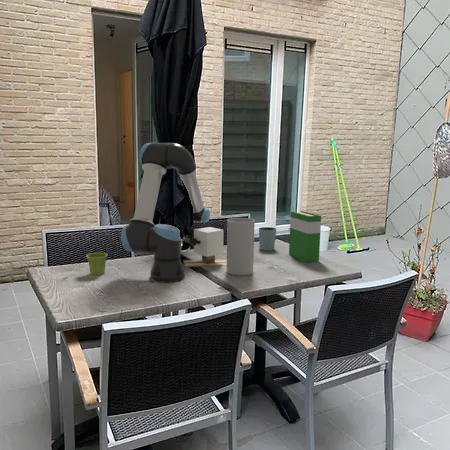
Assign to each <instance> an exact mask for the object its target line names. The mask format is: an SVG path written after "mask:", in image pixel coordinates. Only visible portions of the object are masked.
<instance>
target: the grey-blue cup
mask: <svg viewBox="0 0 450 450" xmlns="http://www.w3.org/2000/svg"><path fill="white" fill-rule="evenodd" d="M276 235H277V228H276V227H271V226H264V227H263V226H262V227H258V239H259V240H258V241H259V246H258V247H259V250H261V251H274V250H275V244H276Z"/></svg>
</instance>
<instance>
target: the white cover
mask: <svg viewBox="0 0 450 450" xmlns="http://www.w3.org/2000/svg"><path fill="white" fill-rule="evenodd" d="M193 229H194V238H196V239H201V240H205V241H206V246H202V245H198V244H196V245H194V244H193V253H194V254H196V255H197V254H198V255H199V256H200V255H201V256H202V255H203V256H206V257H209V256H214V255H215V256H218V255H222V254H224V233H225V232H224V229H221V228H216V227H212V226H208V227H201V228H193Z"/></svg>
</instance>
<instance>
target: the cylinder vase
mask: <svg viewBox="0 0 450 450" xmlns="http://www.w3.org/2000/svg"><path fill="white" fill-rule="evenodd" d="M226 221H227V223H226V225H227V227H226V229H227V230H226V259H227V265H226V273H228V275H231V276H237V277H238V276H240V277H241V276H242V277H244V276H251V275H252V274H253V273H254V257H255V256H254V255H255V254H254V253H255V252H254V251H255V225H256V224H255V223H256V221H255V219H253V218H249V217H248V218H247V217H230V218H227V219H226Z"/></svg>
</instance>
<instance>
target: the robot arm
mask: <svg viewBox="0 0 450 450" xmlns="http://www.w3.org/2000/svg"><path fill="white" fill-rule="evenodd" d="M138 157H139V165H140V166H141V168H142V170H143V174H142V180H141V184H140V188H139V193H138V198H137V201H136V205H135V210H134V215H133V218H131V219H130V220H129V222H128V224H126V225H124V226H123V227H122V229H121V233H120V241H121V244H122V247H123V249H124V250H125V251H127V252H132V253H141V254H151V255H152V254H153V263H152V268H151V270H150V279H151V280H152V281H154V282H159V283H161V282H162V283H174V282H179V281H181V280H183V279H185V271H184V267H183V263H182V261H181V260H182V259H181V249H182V248H181V245H182V244H181V242H183V241H185V242H186V243H187V244H189V245H193V246H194V245H196V244H198V245H202V246H206V241H205V240H201V239H196V238H194V229H195V228H191V227H189V228H190V229H189V235H186V236H185V235H184V236H183V241H182V240H181V237H180V230H179V229H178V228H177V227H175V226H172V225H169V224H166V223H165V224H162V223H157V224H155V223H154V222H153V221H154V216H155V211H156V206H157V205H156V204H157V202H158V197H159V192H160V187H161V182H162V178H163V175H165V174H166V173H167V170H168V169H169V168H171V169H175V170H176V174H178V175H179V178H180V181H181V180H182V181H183V183H184V185H185V187H186V189H187V191H188V194H189V197H190V200H191V204H192V206H193V215H194V216H193V223H208V222H209V221H210V217H211V211H210V209H209V208H206V207H204V203H203V199H202V194H201V190H200V187H199V186H200V185H199V181H198V178H197V175H196V169H197V166H196V162H195V159H194V157H193V156H192V154H191V152H189V151H188V150H187V148H185V147H184V146H183V145H182V144H179V143H177V142H176V143H175V142H147V143H144V144H143V145H142V146H141V149H140V150H139V155H138ZM167 168H168V169H167ZM182 181H181V182H182ZM185 242H184V243H185Z"/></svg>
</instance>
